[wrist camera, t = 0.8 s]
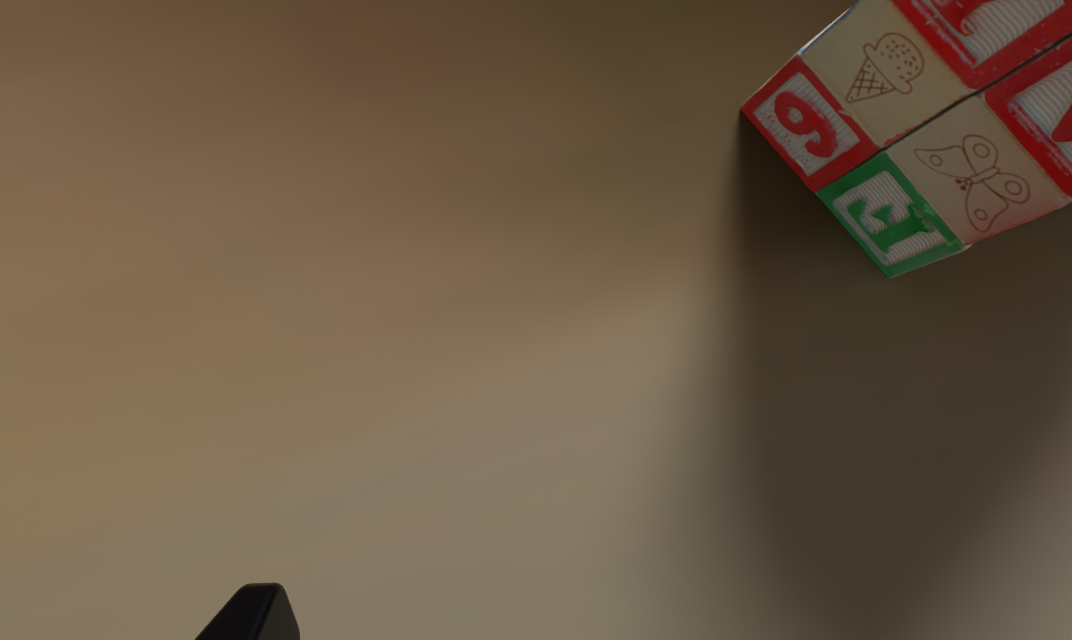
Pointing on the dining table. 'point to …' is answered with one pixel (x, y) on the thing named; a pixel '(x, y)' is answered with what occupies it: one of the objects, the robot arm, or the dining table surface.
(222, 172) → the dining table surface
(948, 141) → the stack of blocks
